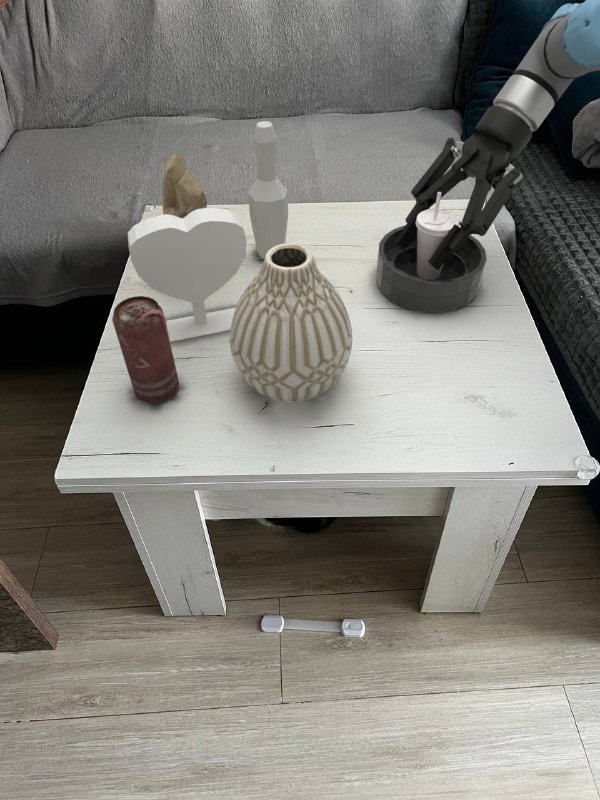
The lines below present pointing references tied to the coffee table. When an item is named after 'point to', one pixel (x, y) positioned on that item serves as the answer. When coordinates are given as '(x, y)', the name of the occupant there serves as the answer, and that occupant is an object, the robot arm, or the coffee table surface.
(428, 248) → the smoothie
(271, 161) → the low poly bottle
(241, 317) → the vase
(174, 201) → the tan rock
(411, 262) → the bowl
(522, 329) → the coffee table surface
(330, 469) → the coffee table surface
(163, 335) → the can
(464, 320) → the coffee table surface
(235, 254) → the heart sculpture
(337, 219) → the coffee table surface
